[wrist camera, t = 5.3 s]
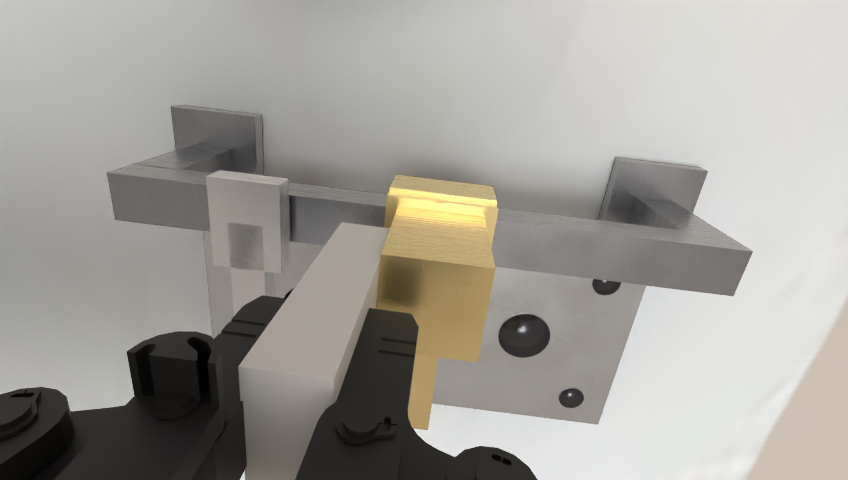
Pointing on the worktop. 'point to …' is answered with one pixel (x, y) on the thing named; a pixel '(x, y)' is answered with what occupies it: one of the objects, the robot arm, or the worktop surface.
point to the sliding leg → (438, 273)
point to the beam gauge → (327, 207)
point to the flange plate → (509, 339)
